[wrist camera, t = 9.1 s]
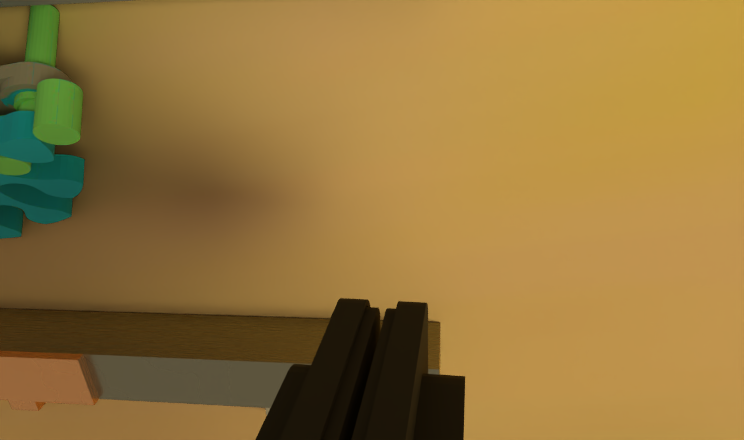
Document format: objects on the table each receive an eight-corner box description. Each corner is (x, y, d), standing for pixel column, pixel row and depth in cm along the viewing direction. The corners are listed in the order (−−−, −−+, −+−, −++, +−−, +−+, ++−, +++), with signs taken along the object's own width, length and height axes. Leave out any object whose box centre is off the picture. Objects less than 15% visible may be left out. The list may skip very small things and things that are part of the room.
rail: (440, 417, 21) (438, 485, 19) (-106, 388, 24) (-174, 442, 22) (440, -239, 12) (438, -289, 10) (-411, -150, 16) (-588, -169, 13)
